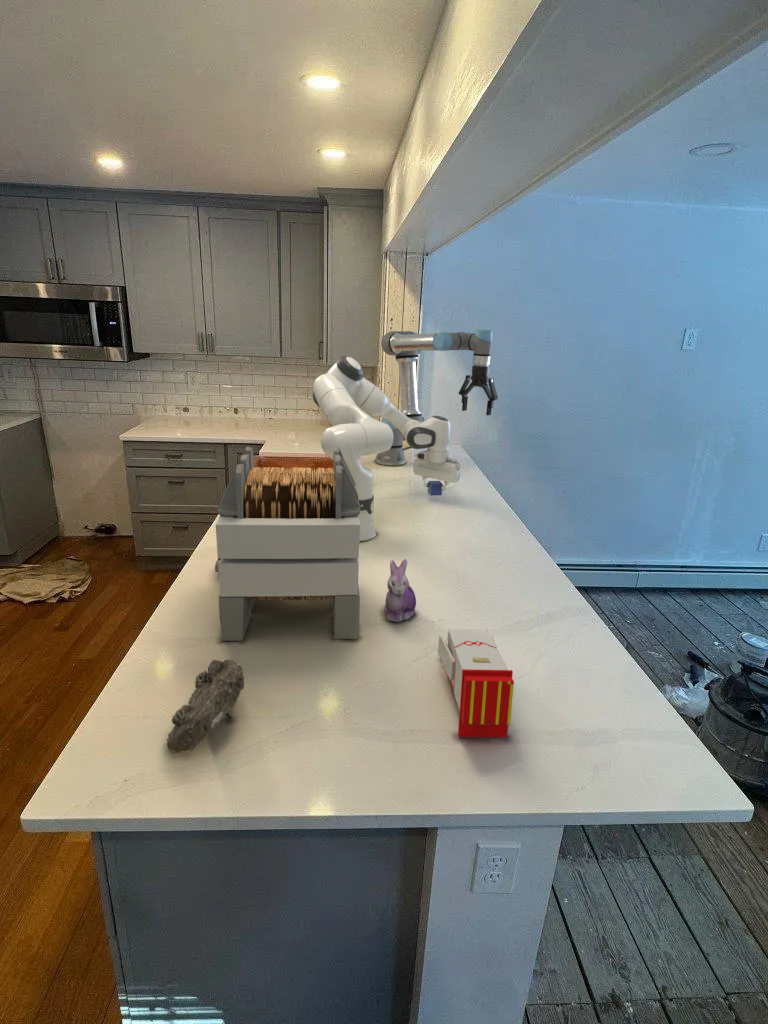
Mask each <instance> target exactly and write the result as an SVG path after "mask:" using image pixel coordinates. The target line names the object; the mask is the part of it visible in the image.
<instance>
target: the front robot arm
mask: <svg viewBox="0 0 768 1024" xmlns="http://www.w3.org/2000/svg"><path fill="white" fill-rule="evenodd" d="M363 373H364V372H363V367H362V365H360V363H359V362H358V361H357V360H356V359H354V358H353V357H351V356H349V355H342V356H340V357H339V358H338V359H337V360H336V361H335V363H333V365H332V366H331V367H330V368H329V369H328V371H326V373H323V374H320V375H319V376H317V377H316V378H315V380H314V381H313V384H312V389H313V392H312V400H313V402H314V403H315V405H317V406H318V407H319V408H320V410H321V411H322V413H323V415H324V417H325V419H326V420H327V422H328V424H329V425H331V426H330V427H327V428H325V429H324V430H323V432H322V434H321V437H320V445H321V448H322V451H323V453H324V454H325V455H326V456H327V457H329V458H330V459H331V460H332V461H333V460H334V448H339V449H340V451H341V453H342V456H343V458H344V460H345V462H346V464H347V467H348V469H349V471H350V473H351V475H352V478H353V480H354V482H355V484H356V489H357V494H358V499H359V504H360V514H359V515H358V517H359V522H360V539H359V542H365V541H368V540H372V539H373V538H375V537H376V535H377V532H376V528H375V523H374V513H373V512H374V509H375V496H374V474H373V472H372V471H371V469H369V468H368V467H366V466H364V465H362V463H361V457H364V456H365V457H366V456H373V455H375V456H376V455H377V454H379V453H382V452H385V451H387V450H389V449H390V448H391V446H392V444H393V438H394V437H393V432H392V430H391V428H390V426H389V425H388V424H386V423H383V422H381V420H378V419H376V418H377V417H378V418H381V419H383V418H384V419H385V420H387V421H388V422H390V423H391V424H392V425H394V426H395V427H396V428H398V429H399V430H400V432H401V434H402V436H403V437H404V439H405V441H406V443H407V444H408V445H409V447H410V446H411V447H412V449H415V450H422V449H426V450H422V451H419V452H416V453H415V459H414V462H413V465H412V466H413V467H412V473H413V474H414V475H416V476H421V477H422V481H423V484H424V485H423V487H424V488H428V481H429V480H428V478H430V479H433V480H437V481H443V486H442V487H441V491H442V492H446V491H447V487H448V486H449V484H450V483H453V484H455V483H458V482H459V481H460V479H461V477H460V476H461V471H460V470H461V462H459V461H458V459H453V458H449V455H450V447H449V443H450V441H451V422H450V420H449V419H447V418H446V417H444V416H441V415H431V416H430V417H429V418H428V419H425V420H426V421H424V422H421V421H420V420H418V419H414V418H410V417H408V416H406V415H405V414H403V413H402V412H401V411H402V410H399V409H398V408H397V407H395V405H393V404H392V403H391V401H390V400H389V398H388V396H387V395H386V394H385V393H384V392H383V391H382V390H381V389H380V388H379V387H378V386H377V385H375V384H374V382H373V383H372V381H370V380H369V379H367V378H365V377H364V375H363Z"/></svg>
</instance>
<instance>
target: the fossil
mask: <svg viewBox="0 0 768 1024" xmlns="http://www.w3.org/2000/svg"><path fill="white" fill-rule="evenodd" d="M243 670H244V669H243V667H242V665H240V664H237V662H236V661H235V660H234V659H232V658H231V659H227V658H226V659H224V660H223V661H222V660H217V659H212V660H211V661H210V663H209V665H208V666H207V671H201V672H199V673H198V674H197V675H196V676H195V680H194V684H195V685H194V687H195V689H194V690H193V693H192V694H191V697H190V698H189V700H188V704H184V705H182V706H181V707H180V709H177V710H176V711H175V713H174V715H173V716H172V718H171V723H172V724H173V727H172V730H171V731H170V732H168V734H167V738H166V741H167V742H166V745H167V749H168V750H169V751H173V752H174V753H176V754H178V753H182V752H188V751H189V752H192V751H193V750H195V748H196V747H197V746H199V744H200V743H201V742H203V741H204V740H205V739H206V738H207V737H208V736H209V735H210V734H211V733H212V732H214V730H215V729H217V727H218V726H219V724H220V722H221V721H222V720H223V719H224V718H225V716H226V717H227V719H229V720H233V717H232V715H230V714H229V710H230V709H231V708H234V706H235V704H236V703H237V702H238V699H239V697H240V695H241V693H242V691H243V690H245V689H244V688H245V675H244V671H243Z"/></svg>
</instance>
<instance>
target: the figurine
mask: <svg viewBox="0 0 768 1024" xmlns="http://www.w3.org/2000/svg"><path fill="white" fill-rule="evenodd" d="M407 567H408V559H406V558H404V559H403V560H402V561H401V563H400V565H399V566H398V565H397V563H396V562H395V561H394V560H393V559H391V560H390V561H389V570H390V576H389V578H388V579H387V589H388V591H387V592H386V594H385V595H386V596H385V607H384V615H385V616H386V620H387V621H391V622H395V623H400V622H402V621H406V620H409V619H410V618H411V617H413V616H414V615H415V610H416V606H417V597H416V593H415V591H414V590H413V587H411V586H410V582H409V579H408V577H407V574H406V571H407Z"/></svg>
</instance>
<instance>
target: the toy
mask: <svg viewBox="0 0 768 1024" xmlns="http://www.w3.org/2000/svg"><path fill="white" fill-rule="evenodd" d="M446 640H447V643H446V641H445V639H444V636H443V635H442V634H439V637H438V646H437V656H438V657H439V659H440V661H441V663H442V666H443V668H444V670H445V672H446V674H447V677H448V679H449V681H450V684H451V687H452V690H453V693H454V697H455V701H456V705H457V708H458V711H459V714H458V715H459V716H458V730H457V731H458V732H457V737H458V738H508V731H509V726H510V725H511V717H512V707H513V697H514V696H513V695H514V684H515V680H514V679H513V673H514V671H513V670H512V669H508V667H507V665H506V662H505V661H504V659H503V658H502V655H501V653H500V651H499V649H498V647H497V643H496V639H495V637H494V635H493V634H491V632H490V631H489V629H467V628H466V629H465V628H463V629H461V628H460V629H459V628H448V630H447V639H446Z"/></svg>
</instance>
